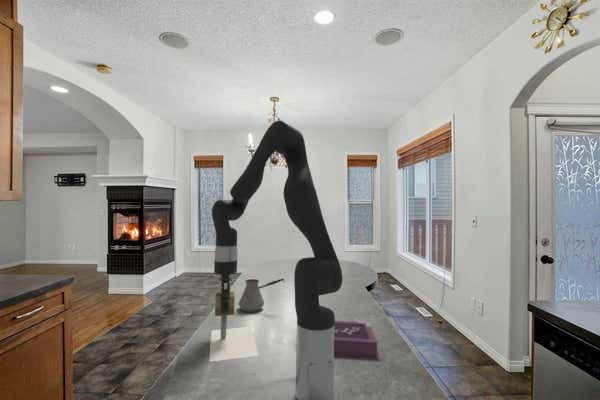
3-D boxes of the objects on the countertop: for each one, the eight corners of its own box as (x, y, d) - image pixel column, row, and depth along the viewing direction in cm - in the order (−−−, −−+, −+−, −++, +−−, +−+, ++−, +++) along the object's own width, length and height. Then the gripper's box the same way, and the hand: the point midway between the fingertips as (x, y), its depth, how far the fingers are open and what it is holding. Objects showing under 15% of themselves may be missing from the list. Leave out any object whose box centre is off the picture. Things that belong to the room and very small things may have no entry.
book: (369, 335, 104) (369, 322, 104) (377, 358, 88) (377, 342, 88) (300, 332, 106) (300, 318, 106) (296, 353, 90) (296, 337, 90)
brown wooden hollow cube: (233, 314, 93) (234, 296, 93) (214, 316, 91) (215, 297, 91) (233, 308, 99) (233, 291, 99) (215, 310, 97) (215, 292, 97)
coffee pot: (233, 312, 124) (234, 277, 125) (245, 304, 135) (246, 272, 136) (279, 317, 119) (280, 281, 119) (287, 308, 130) (288, 275, 130)
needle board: (258, 361, 84) (259, 327, 84) (209, 367, 80) (210, 331, 80) (250, 330, 105) (251, 303, 105) (211, 334, 101) (212, 306, 101)
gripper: (238, 262, 90) (237, 316, 89) (236, 255, 104) (234, 301, 103) (214, 262, 88) (212, 317, 87) (214, 255, 102) (213, 303, 101)
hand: (224, 309), depth 95 cm, fingers closed on brown wooden hollow cube, 6 cm apart
